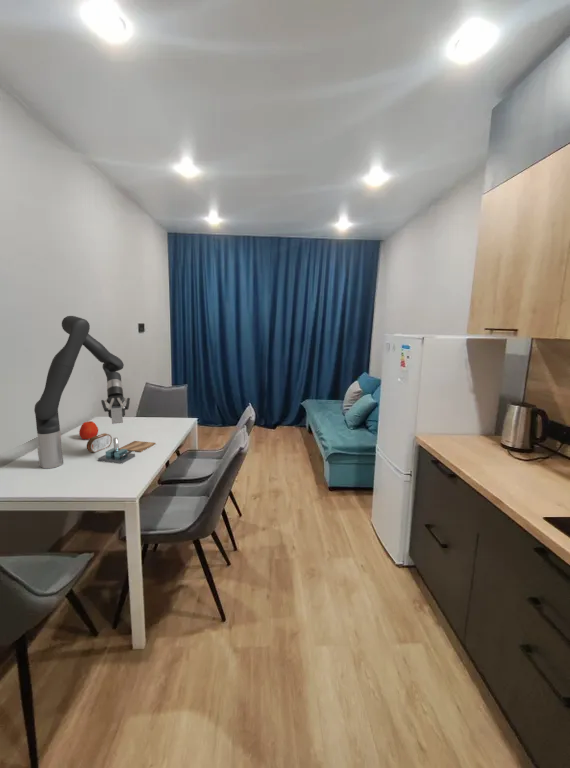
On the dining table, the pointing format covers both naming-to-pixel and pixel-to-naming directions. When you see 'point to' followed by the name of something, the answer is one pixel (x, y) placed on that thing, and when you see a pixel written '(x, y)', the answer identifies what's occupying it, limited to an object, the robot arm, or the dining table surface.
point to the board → (137, 446)
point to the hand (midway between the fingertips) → (117, 416)
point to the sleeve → (116, 414)
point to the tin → (99, 442)
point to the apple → (88, 430)
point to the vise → (116, 454)
